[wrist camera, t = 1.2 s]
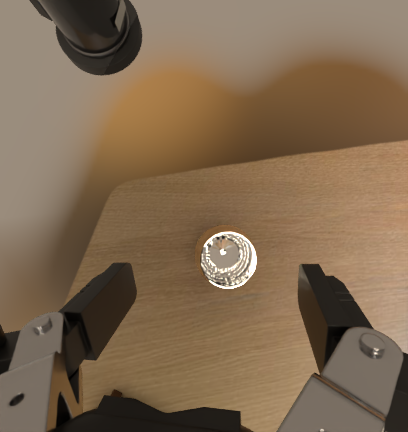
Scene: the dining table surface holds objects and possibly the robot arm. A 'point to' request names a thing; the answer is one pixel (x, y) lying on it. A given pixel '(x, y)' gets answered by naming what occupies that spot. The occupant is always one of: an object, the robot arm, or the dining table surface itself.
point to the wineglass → (225, 256)
